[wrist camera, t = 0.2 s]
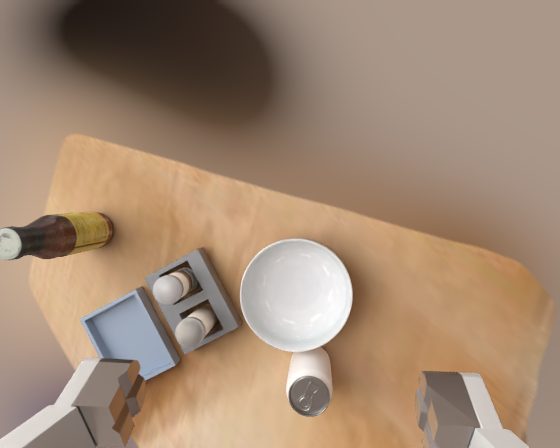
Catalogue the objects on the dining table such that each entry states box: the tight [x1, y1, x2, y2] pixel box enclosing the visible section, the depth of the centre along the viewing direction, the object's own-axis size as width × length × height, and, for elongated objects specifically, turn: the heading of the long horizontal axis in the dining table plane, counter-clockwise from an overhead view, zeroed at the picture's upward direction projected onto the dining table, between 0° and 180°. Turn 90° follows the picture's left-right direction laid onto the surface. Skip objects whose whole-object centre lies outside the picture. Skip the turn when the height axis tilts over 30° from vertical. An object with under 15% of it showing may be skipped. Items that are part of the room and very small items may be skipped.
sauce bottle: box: [0, 212, 113, 260], centre depth 59 cm, size 6×6×20 cm
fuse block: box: [145, 247, 242, 354], centre depth 63 cm, size 14×10×9 cm
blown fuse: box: [153, 267, 199, 305], centre depth 63 cm, size 4×4×9 cm
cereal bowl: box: [240, 238, 353, 352], centre depth 62 cm, size 17×17×7 cm
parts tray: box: [80, 287, 181, 381], centre depth 67 cm, size 14×11×2 cm
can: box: [286, 347, 333, 417], centre depth 60 cm, size 6×6×12 cm
